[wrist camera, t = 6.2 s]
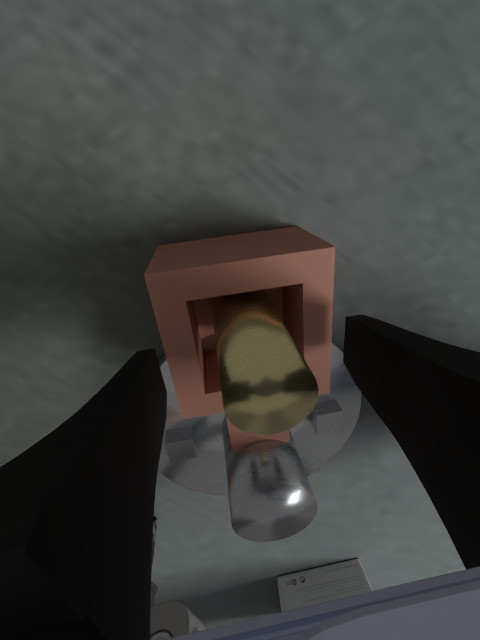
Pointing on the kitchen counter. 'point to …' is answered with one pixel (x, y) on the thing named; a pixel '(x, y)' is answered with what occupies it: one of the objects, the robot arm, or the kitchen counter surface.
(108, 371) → the kitchen counter surface
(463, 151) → the kitchen counter surface
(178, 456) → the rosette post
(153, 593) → the mechanical component
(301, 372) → the gold capsule
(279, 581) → the supplement box
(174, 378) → the bracket
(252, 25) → the kitchen counter surface
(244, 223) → the kitchen counter surface
